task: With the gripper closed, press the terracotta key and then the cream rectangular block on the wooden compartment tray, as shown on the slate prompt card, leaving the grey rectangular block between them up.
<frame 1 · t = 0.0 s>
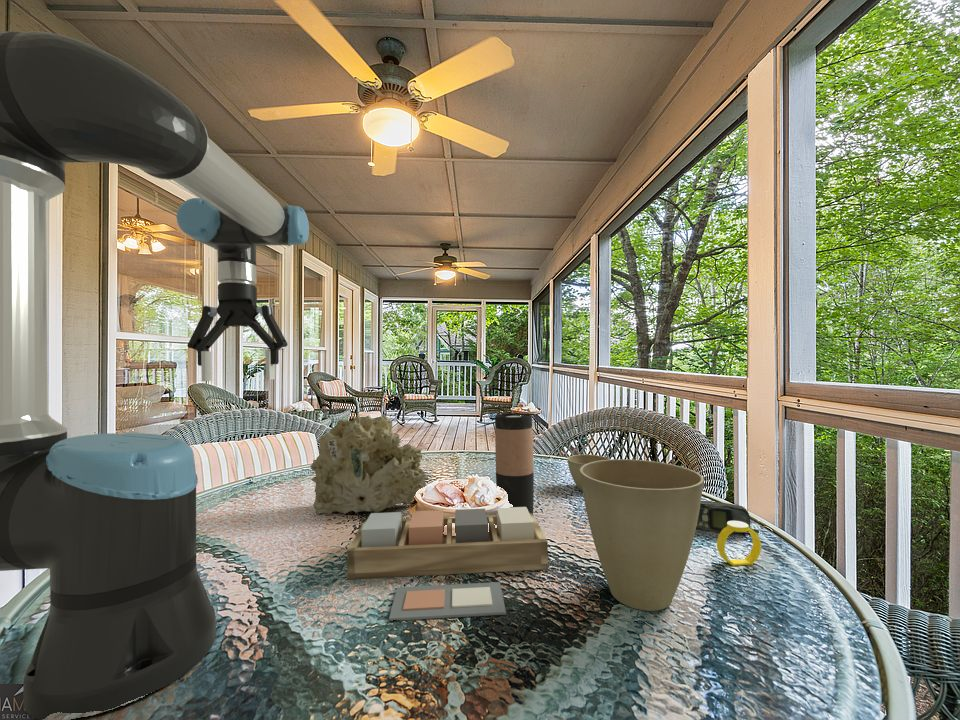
hand: (238, 380, 92), 28 cm above the table, tool pointing down, fingers open, 13 cm apart
grey rectangular block: (471, 526, 67), point 4 cm above the table, slide at 0.0 cm
cream rectangular block: (514, 524, 67), point 4 cm above the table, slide at 0.0 cm
key terracotta: (427, 527, 66), point 5 cm above the table, slide at 0.0 cm
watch: (739, 564, 62), on the table
flower pot: (589, 489, 100), on the table
wooden compartment tray: (449, 555, 67), on the table
key bluegrey: (382, 529, 66), point 5 cm above the table, slide at 0.0 cm
prompt card: (448, 601, 54), on the table
plant pot: (642, 596, 54), on the table
coral: (370, 511, 88), on the table
mobile phone: (709, 530, 75), on the table
travel mug: (515, 515, 84), on the table
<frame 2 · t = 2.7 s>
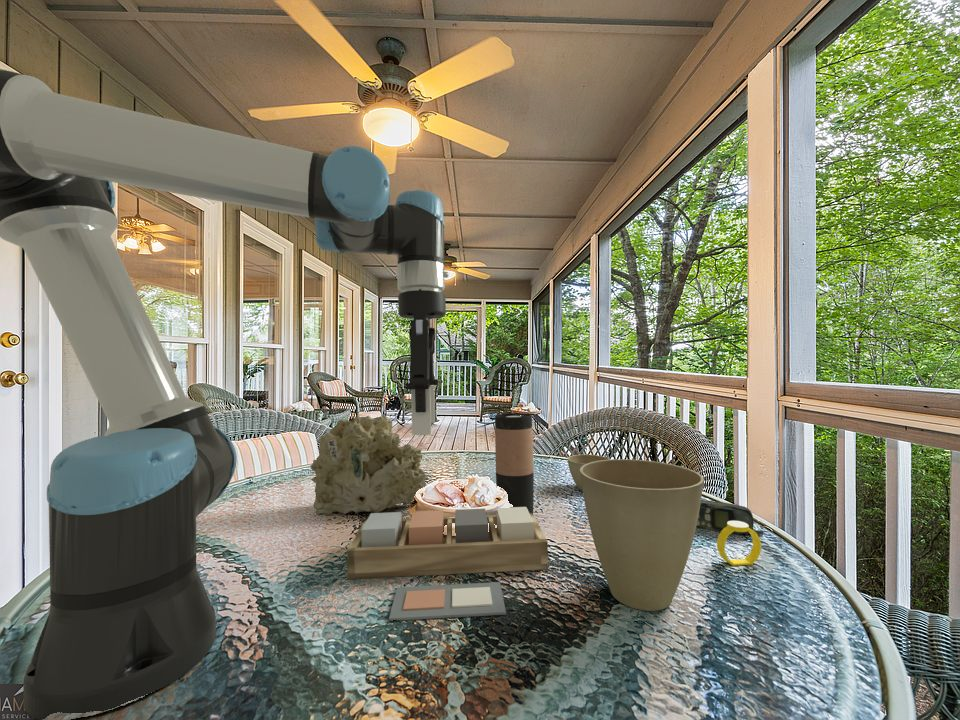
hand: (424, 428, 67), 20 cm above the table, tool pointing down, fingers open, 12 cm apart
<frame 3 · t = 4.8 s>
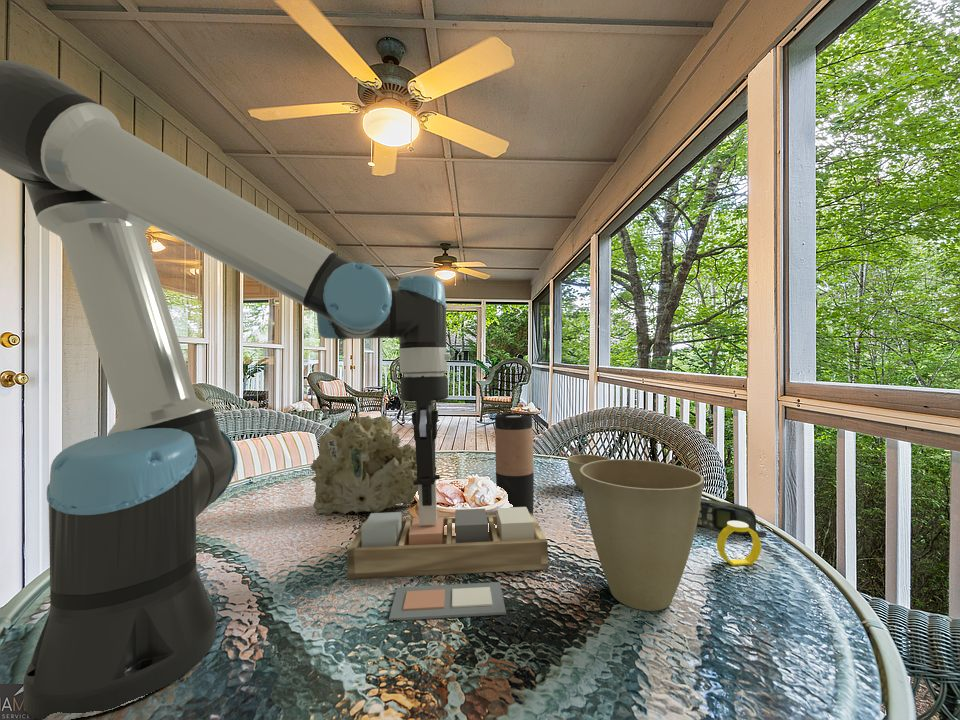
hand: (428, 523, 66), 5 cm above the table, tool pointing down, fingers closed
key terracotta: (427, 534, 66), point 3 cm above the table, slide at 1.1 cm, touching gripper
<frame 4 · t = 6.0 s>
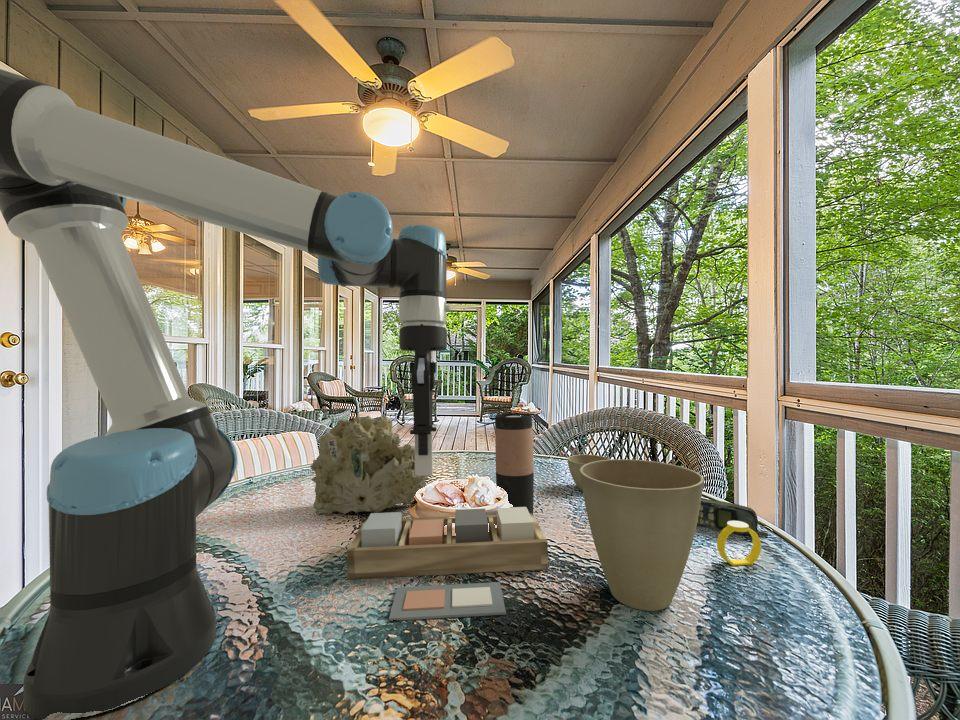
hand: (423, 474, 66), 13 cm above the table, tool pointing down, fingers closed
key terracotta: (427, 537, 66), point 3 cm above the table, slide at 1.5 cm
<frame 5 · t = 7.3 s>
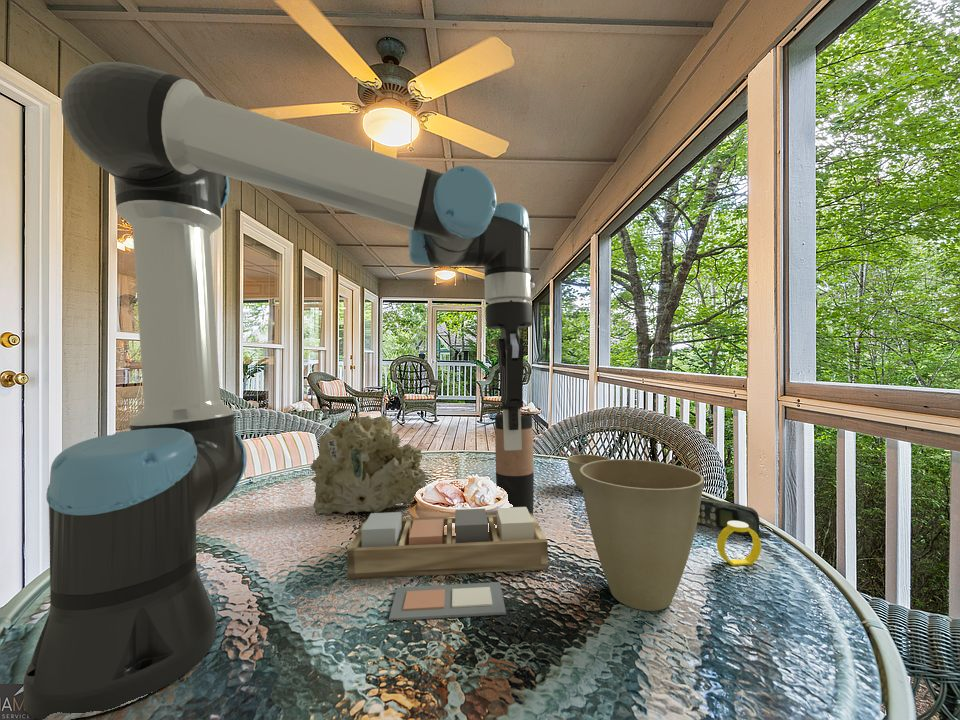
hand: (512, 449, 67), 17 cm above the table, tool pointing down, fingers closed
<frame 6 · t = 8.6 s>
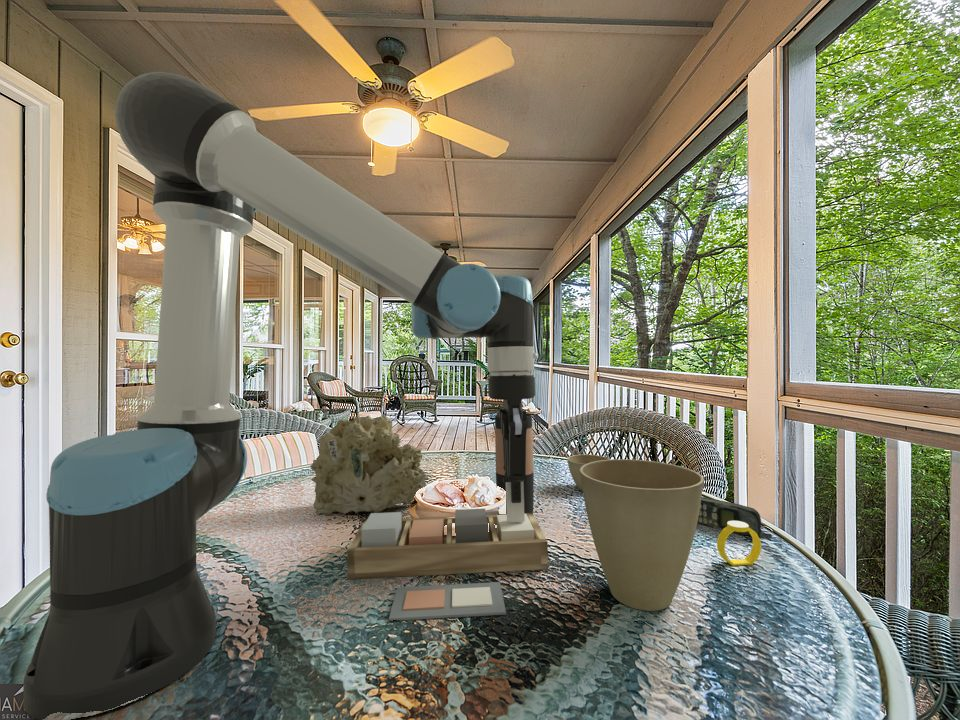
hand: (515, 520, 67), 5 cm above the table, tool pointing down, fingers closed
cream rectangular block: (514, 531, 67), point 3 cm above the table, slide at 1.2 cm, touching gripper
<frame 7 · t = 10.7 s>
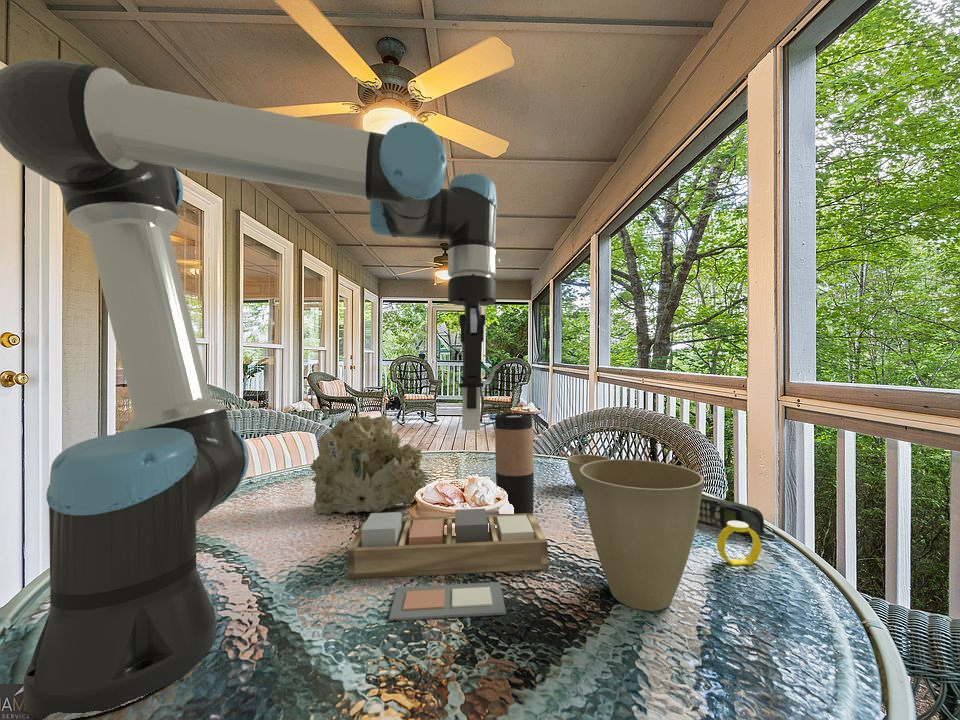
hand: (470, 429, 65), 20 cm above the table, tool pointing down, fingers closed
cream rectangular block: (514, 533, 67), point 3 cm above the table, slide at 1.4 cm
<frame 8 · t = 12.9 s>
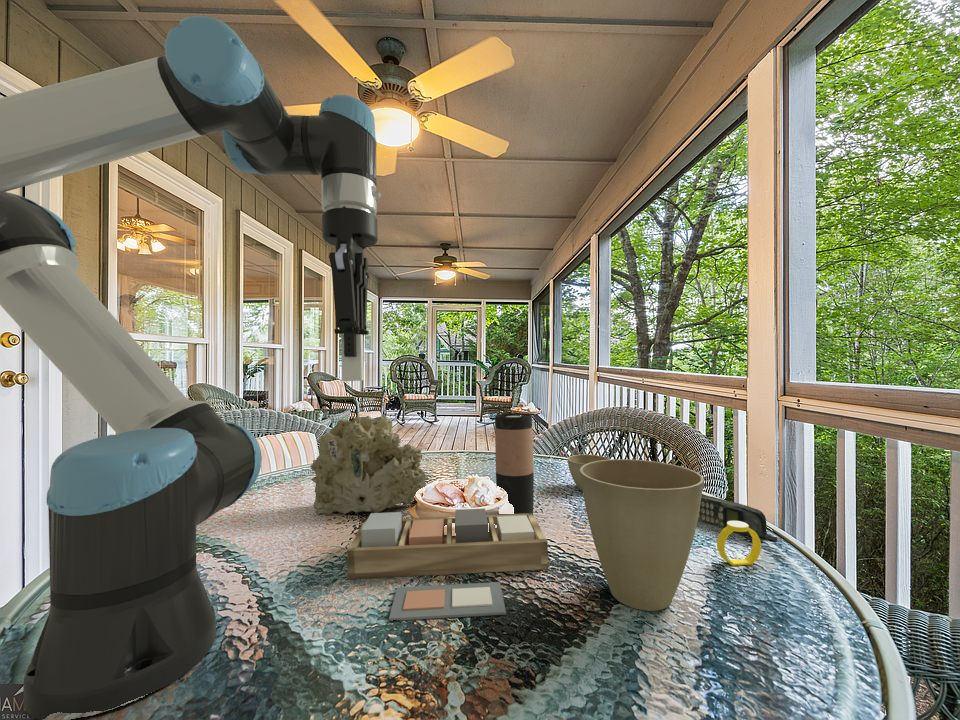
hand: (353, 380, 59), 28 cm above the table, tool pointing down, fingers closed
at the end: key terracotta slide at 1.5 cm; cream rectangular block slide at 1.4 cm; grey rectangular block slide at 0.0 cm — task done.
